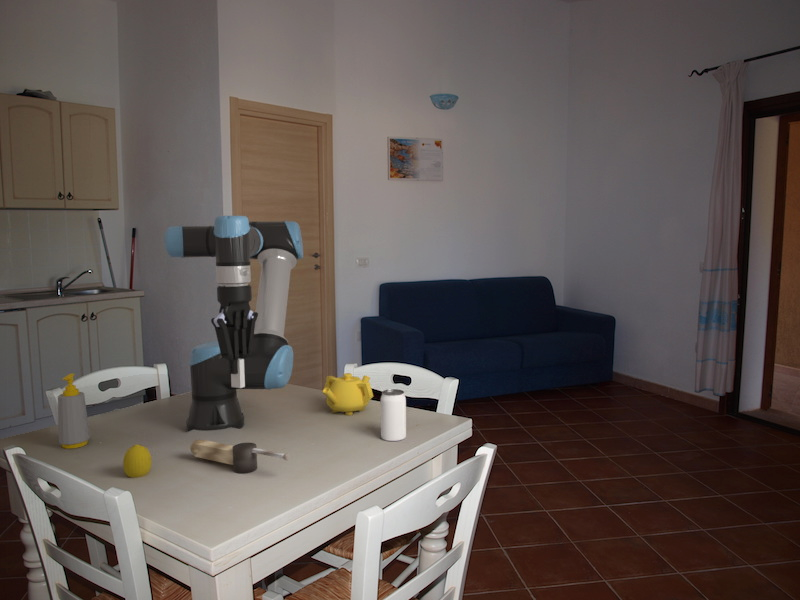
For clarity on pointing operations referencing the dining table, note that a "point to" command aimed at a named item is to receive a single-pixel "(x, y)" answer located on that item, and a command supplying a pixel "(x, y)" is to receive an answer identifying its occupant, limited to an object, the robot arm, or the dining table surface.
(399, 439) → the can
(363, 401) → the teapot
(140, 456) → the lemon
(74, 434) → the soap bottle
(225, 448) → the tan long two-tone device
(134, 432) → the dining table surface
